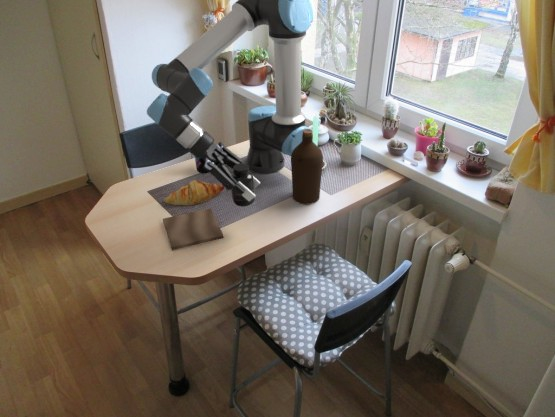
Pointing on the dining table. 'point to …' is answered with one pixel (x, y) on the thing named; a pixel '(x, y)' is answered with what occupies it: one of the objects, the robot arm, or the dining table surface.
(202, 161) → the supplement container
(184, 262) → the dining table surface
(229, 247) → the dining table surface
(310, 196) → the olive oil
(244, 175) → the supplement bottle
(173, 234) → the brown cloth napkin
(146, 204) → the dining table surface
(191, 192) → the croissant
